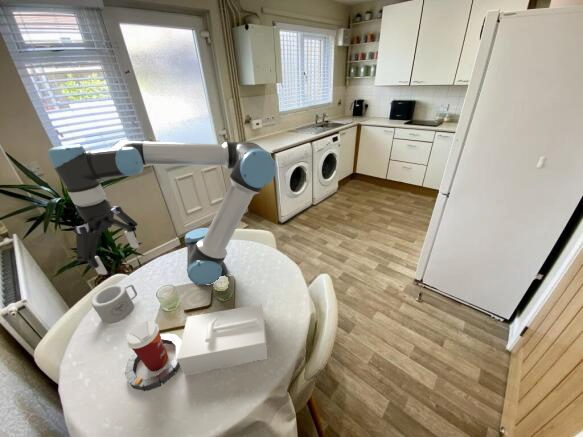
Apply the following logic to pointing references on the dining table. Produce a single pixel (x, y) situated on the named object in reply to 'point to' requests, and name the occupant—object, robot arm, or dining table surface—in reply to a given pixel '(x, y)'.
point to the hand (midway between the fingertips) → (120, 259)
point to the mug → (113, 303)
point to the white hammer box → (223, 339)
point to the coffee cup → (148, 345)
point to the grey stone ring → (158, 379)
